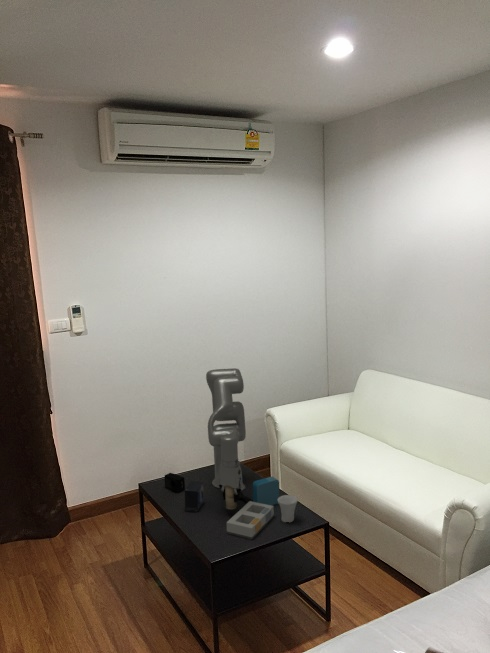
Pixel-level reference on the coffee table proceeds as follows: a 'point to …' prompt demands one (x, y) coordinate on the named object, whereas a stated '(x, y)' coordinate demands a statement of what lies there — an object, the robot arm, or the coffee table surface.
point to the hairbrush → (244, 497)
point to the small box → (194, 496)
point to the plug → (230, 497)
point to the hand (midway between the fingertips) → (231, 499)
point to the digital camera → (174, 482)
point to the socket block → (250, 520)
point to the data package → (266, 491)
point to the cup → (287, 507)
